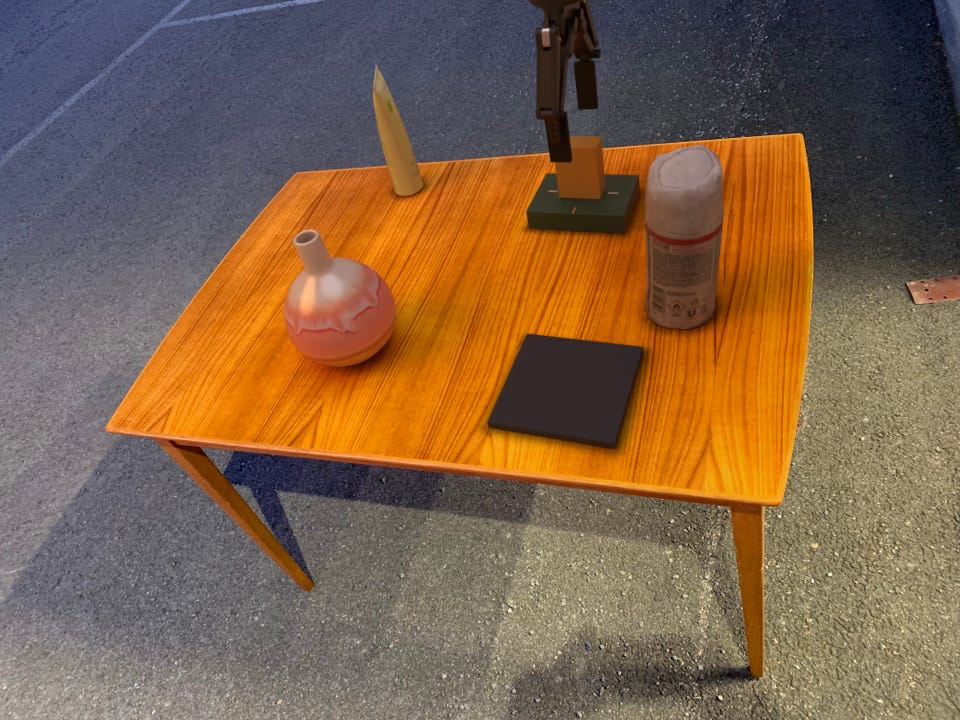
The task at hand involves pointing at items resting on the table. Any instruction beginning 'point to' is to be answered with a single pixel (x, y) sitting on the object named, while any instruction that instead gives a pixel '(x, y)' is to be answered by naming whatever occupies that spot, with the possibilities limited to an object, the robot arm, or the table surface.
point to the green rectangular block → (585, 206)
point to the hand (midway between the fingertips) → (575, 133)
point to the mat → (568, 390)
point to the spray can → (683, 236)
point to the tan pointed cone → (395, 141)
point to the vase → (337, 306)
